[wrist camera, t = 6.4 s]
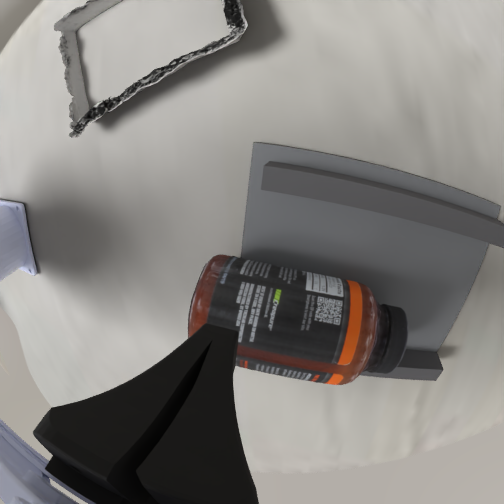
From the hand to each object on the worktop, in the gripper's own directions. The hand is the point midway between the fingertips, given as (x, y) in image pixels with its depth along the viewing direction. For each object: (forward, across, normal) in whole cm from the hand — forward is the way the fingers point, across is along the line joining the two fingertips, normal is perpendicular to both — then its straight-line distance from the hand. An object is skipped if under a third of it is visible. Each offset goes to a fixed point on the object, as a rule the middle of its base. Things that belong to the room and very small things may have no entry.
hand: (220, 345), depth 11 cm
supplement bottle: (+5, +2, +2) cm, 6 cm away
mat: (+8, -7, 0) cm, 11 cm away
